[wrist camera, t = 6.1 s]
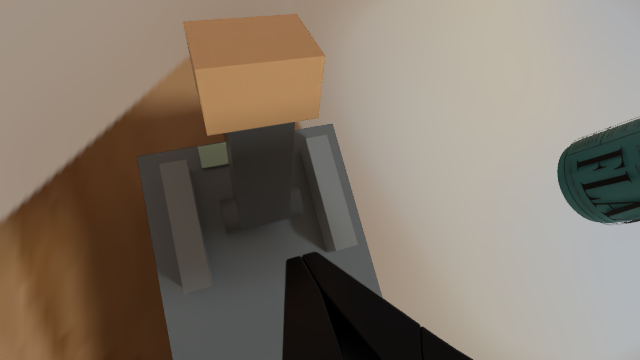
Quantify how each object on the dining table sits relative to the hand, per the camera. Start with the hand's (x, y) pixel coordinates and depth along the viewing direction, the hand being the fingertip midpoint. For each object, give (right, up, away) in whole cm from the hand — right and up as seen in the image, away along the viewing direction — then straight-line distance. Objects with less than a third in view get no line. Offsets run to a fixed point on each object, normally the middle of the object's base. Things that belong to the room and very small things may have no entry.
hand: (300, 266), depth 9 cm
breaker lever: (-2, +1, +5) cm, 6 cm away
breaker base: (-2, -4, +10) cm, 11 cm away
